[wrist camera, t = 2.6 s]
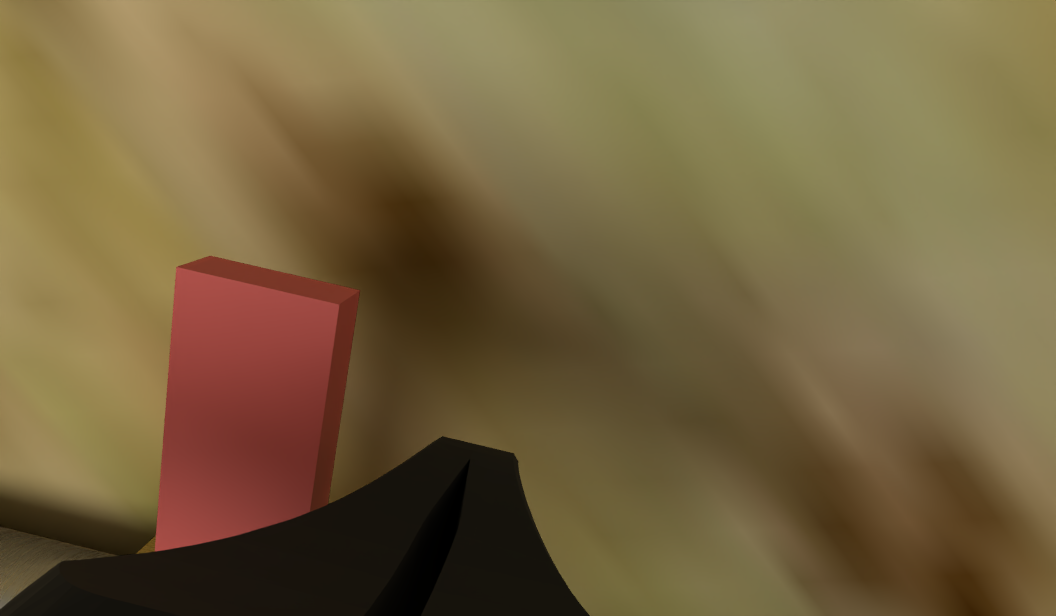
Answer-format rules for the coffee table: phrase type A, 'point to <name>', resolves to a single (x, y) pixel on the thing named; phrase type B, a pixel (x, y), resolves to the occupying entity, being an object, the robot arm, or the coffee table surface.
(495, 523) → the robot arm
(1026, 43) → the coffee table surface
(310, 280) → the lever
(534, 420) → the coffee table surface
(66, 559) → the valve pipe
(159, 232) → the coffee table surface
